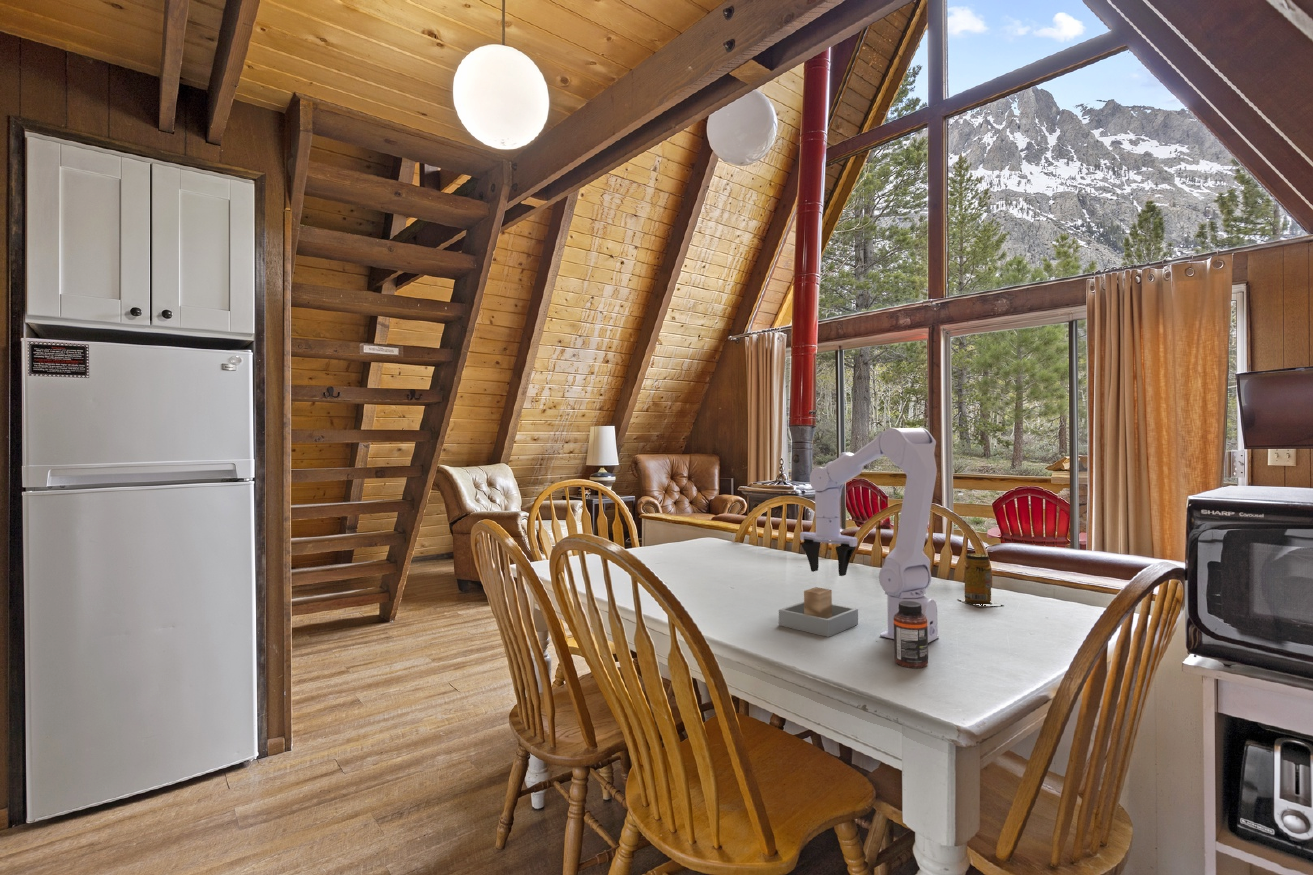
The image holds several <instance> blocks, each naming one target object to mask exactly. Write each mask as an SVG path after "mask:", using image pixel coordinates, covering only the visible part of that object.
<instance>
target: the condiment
mask: <svg viewBox="0 0 1313 875" xmlns="http://www.w3.org/2000/svg"><path fill="white" fill-rule="evenodd" d="M965 559H966V560H965V565H964V572H963V573H964V599H965V601H961V602H962V603H965V604H969V605H972V606H975V607H978V608H991V607H990V606H986V605H984V606H983V604H991V602H992V567H991V566H990V556H989V555H987V554H985V553H984V554H983V553H972V552H971V553H967V554H965ZM990 601H991V602H990ZM993 602H994V604H1000V603H999V602H996V603H995V601H993ZM973 604H980V605H981V604H982V605H981V606H979V605H973Z"/></svg>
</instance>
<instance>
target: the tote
mask: <svg viewBox="0 0 1313 875" xmlns="http://www.w3.org/2000/svg"><path fill="white" fill-rule="evenodd" d="M855 625H856V626H858V625H859V609H858V608H855V607H852V606H851V607H850V606H844V605H839V604H834V603H832V617H831V618H828V619H825V618H820V617H815V616H811V615H806V614H804V601H801V602H798V603H795V604H792V605H789V606H786V607H783V608H780V609H779V610H778V626H780V627H785V628H790V629H793V630H796V631H797V630H798V631H803V632H807V633H810V634H814V635H817V636H818V635H819V636H823V637H828V638H829V637H831V636H833V635H836V634H839V633H841V632H843V631H845V630H849V629H851V628H853V627H855Z"/></svg>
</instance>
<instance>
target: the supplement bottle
mask: <svg viewBox="0 0 1313 875" xmlns="http://www.w3.org/2000/svg"><path fill="white" fill-rule="evenodd" d="M898 609H899V612H898V613H896V614H895V615H894V639H893V653H894V654H893V657H894V661H895V663H896V664H898V665H900V666H902V667H905V668H909V669H921V668H924V667H926V666H927V665H928V664H929V647H928V646H929V643H928V626H927V618H926V616H925V615H923V614H922V612H921V611H922V607H921V604H920V603H919V602H915V601H901V602H899V608H898Z"/></svg>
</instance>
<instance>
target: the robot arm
mask: <svg viewBox="0 0 1313 875" xmlns="http://www.w3.org/2000/svg"><path fill="white" fill-rule="evenodd" d="M936 444H937V440H936V439H935V438H934V437H933V435H932V434H931V433H930V432H929V430H927V429H926V428H924V427H914V428H908V427H907V428H905V427H904V428H901V427H900V428H897V427H889V428H886V429H885V430H884V431H881V432H879V433H877V435H876V437H875V438H874V439H872V441H870V442H869V443H867V444H865V445H864V446H863V447H861V448H860V449H859V450H857V451H856V452H854V453H853V452H841V453H839V455H838V457H837V458H836V459H834V460H832V461H829V462H827V463H826V465H825V466H824V467H822V466H815V467H814V469H812V471H811V472H810V474H809V483H810V486H811V488H812V489H813V490H814V502H815V504H814V509H815V510H814V511H815V512H814V514H815V532H811V531H801V532H800V533H799V538H800V539H799V541H802V542H801V543H800V544H801V548H802V549H803V551H804V553H805V556H806V558H807V560H808V563H809V568H810V571H811V572H813V573H814V572H818V571H819V564H820V563H819V561H820V560H819V555H820V553H819V552H820V548H821V545H822V544H821V543H825V544H833V545H839V546H835V551H836V555H837V560H838V561H837V562H838V570H837V571H838V576H840V577H844V576H847V571H848V568H849V563H850V561H851V558H852V556H853V554H854V552H855V551H856V547H857V546H858V537H855V536H849V535H844V534H841V516H840V514H841V513H840V512H841V506H840V505H841V504H840V498H841V496H842V490H843V488H844V486H845V483H847V482H849V481H851V480H852V479H853V478H856V477H857V476H859V475H860V474H862V472H863V469H864V468H863V467H864V466H866V465H868V464H870V463H873V462H874V461H875V460H878V459H879V458H882V457H884V456H885V457H886V458H888V459H889V460H890V461H891V462H892V463H893V464H894V465H896V466H897V467H898V468H899V469H900V470H902V472H904V474H905V475H906V480H905V486H904V491H903V498H902V503H901V504H902V505H901V508H900V509H901V510H900V516H899V520H898V521H899V522H898V528H897V533H896V539H895V540H896V541H895V546H894V548H893V549H892V550H891V551H890V552H889V553H888V554H887V555H886V556H885V558H884V563H883V566H882V567H881V568H880V570H879V573H878V574H879V575H878V581H879V585H880V586H881V588H882V590H883V591H884V595H887V596H886V597H887V598H886V599H887V602H886V603H887V630H884V631H882V632H881V633H879V636H880V637H882V638H887V639H892V640H894V615H895V614H896V613H898V612H899V609H898V608H899V602H901V601H915V602H919V603H920V604H921V607H922V611H921V612H922V614H923V615H925V616H926V618H927V626H928V644H929V643H931V642H933V641H934V640H936V639H939V637H940V635H939V634H938V628H939V626H938V606H937V601H935V600H934V599H933V598H928V597H927V596H925V595H926V589H928V588H929V586H930V585H931V583H932V573H931V559H930V558H929V557H928V556H927V555H926V553H925V552H924V549H925V548H924V547H925V543H926V536H927V532H928V525H929V519H930V515H931V509H932V508H931V507H932V503H933V497H934V493H935V492H934V491H935V485H936V480H937V474H938V473H937V472H938V469H937V463H936V456H935V451H936Z"/></svg>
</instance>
